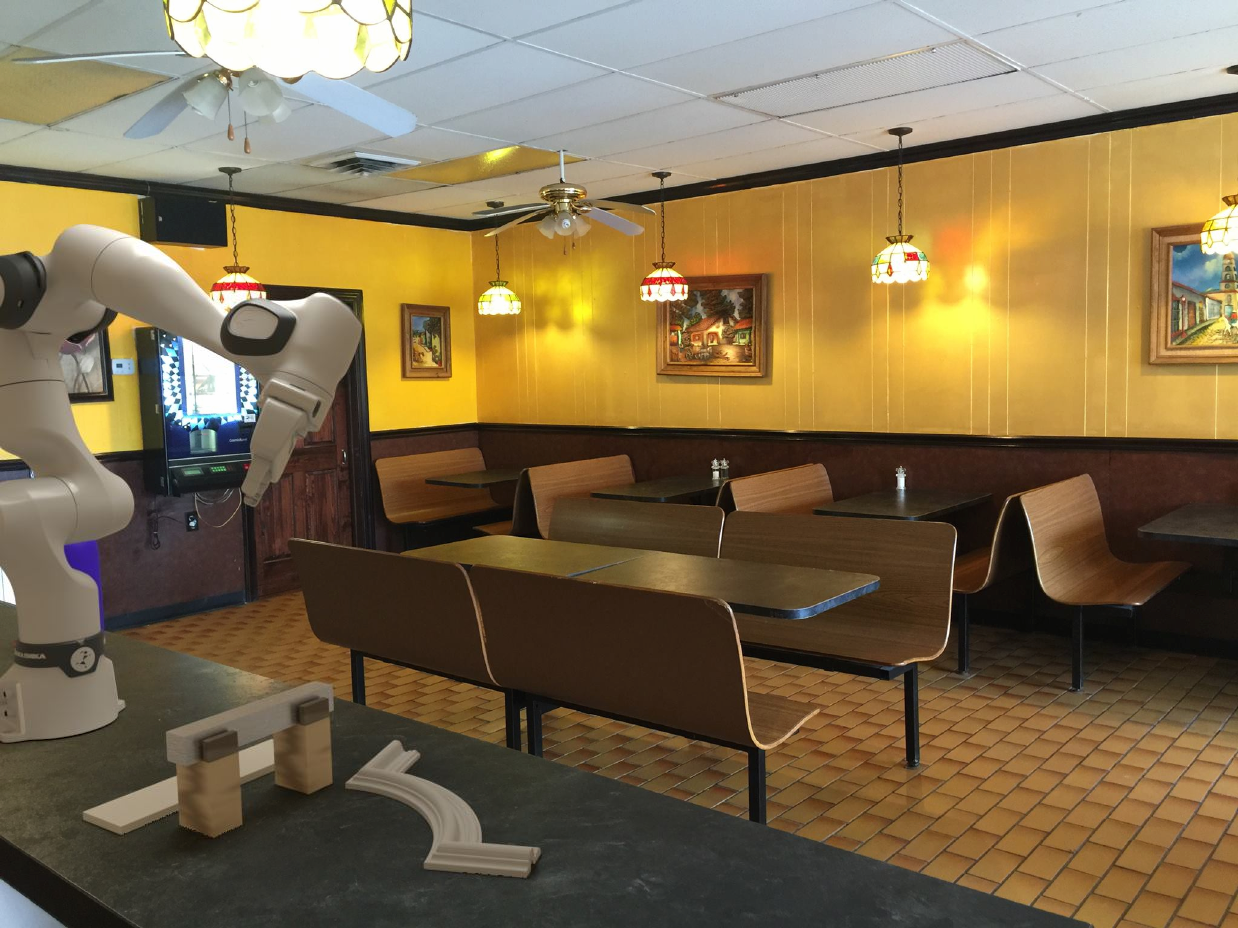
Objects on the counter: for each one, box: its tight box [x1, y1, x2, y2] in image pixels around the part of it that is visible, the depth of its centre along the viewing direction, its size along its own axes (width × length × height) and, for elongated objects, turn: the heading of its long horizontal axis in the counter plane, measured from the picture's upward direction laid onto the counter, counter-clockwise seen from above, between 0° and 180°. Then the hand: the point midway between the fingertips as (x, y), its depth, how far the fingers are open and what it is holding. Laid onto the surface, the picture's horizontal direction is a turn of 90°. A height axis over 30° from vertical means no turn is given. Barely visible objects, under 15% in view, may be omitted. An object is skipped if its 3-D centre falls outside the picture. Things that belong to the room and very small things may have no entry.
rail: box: [165, 680, 335, 767], centre depth 124 cm, size 4×22×4 cm, turn 148°
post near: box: [175, 730, 243, 839], centre depth 119 cm, size 6×4×12 cm, turn 58°
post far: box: [272, 697, 333, 795], centre depth 131 cm, size 6×4×12 cm, turn 58°
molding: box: [344, 739, 542, 879], centre depth 122 cm, size 42×12×3 cm, turn 34°
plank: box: [82, 738, 275, 836], centre depth 131 cm, size 8×28×1 cm, turn 148°
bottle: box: [64, 540, 106, 638], centre depth 193 cm, size 8×8×30 cm
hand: (248, 499), depth 130 cm, fingers open, 8 cm apart
